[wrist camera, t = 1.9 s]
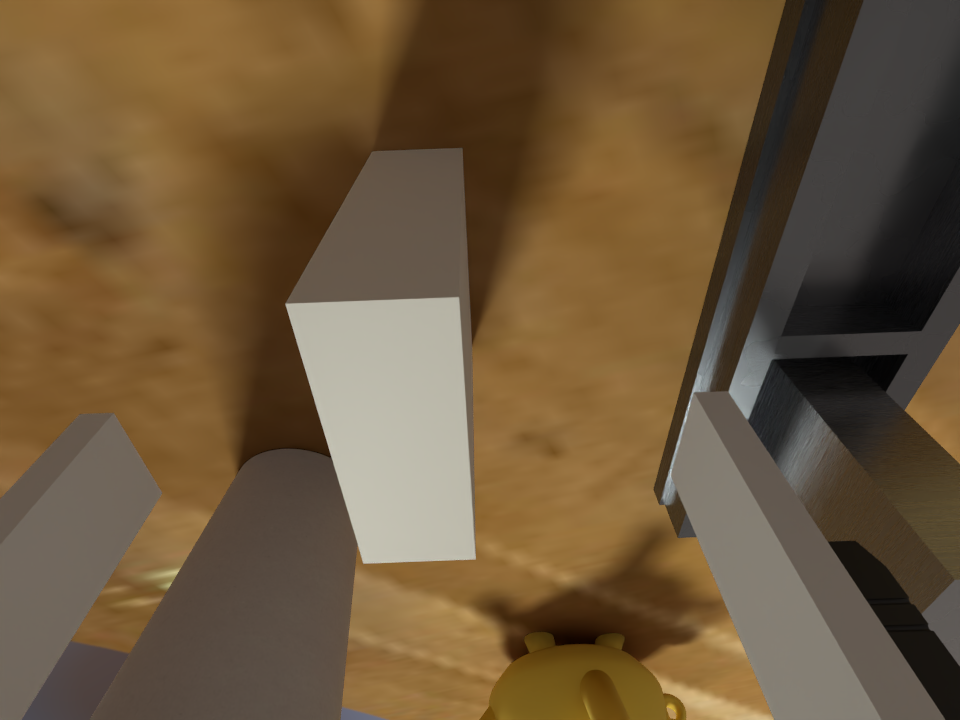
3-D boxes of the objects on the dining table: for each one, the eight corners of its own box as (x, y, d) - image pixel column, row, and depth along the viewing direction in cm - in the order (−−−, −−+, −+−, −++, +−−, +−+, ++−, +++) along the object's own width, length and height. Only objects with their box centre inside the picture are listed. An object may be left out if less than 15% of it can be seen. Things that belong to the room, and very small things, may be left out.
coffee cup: (362, 414, 24) (255, 858, 12) (409, 533, 29) (369, 914, 17) (170, 438, 24) (-120, 882, 12) (252, 550, 30) (108, 929, 18)
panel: (372, 151, 17) (285, 303, 9) (462, 147, 17) (459, 297, 9) (401, 347, 21) (363, 563, 13) (472, 345, 21) (475, 559, 13)
